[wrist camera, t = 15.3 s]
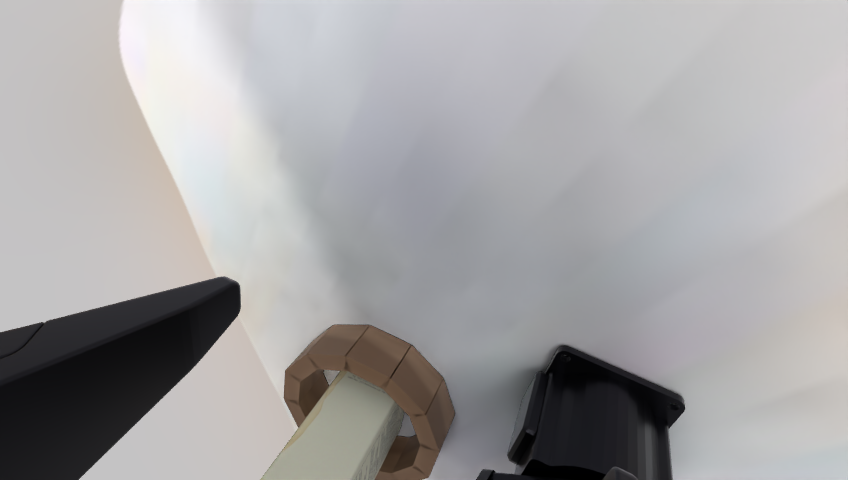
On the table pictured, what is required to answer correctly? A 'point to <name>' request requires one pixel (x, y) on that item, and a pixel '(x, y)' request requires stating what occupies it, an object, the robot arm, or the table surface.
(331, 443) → the skincare box
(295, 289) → the table surface
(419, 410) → the walnut ring
